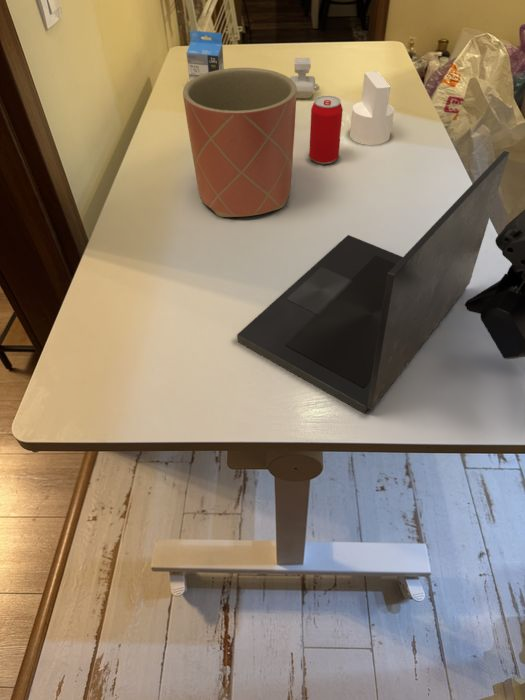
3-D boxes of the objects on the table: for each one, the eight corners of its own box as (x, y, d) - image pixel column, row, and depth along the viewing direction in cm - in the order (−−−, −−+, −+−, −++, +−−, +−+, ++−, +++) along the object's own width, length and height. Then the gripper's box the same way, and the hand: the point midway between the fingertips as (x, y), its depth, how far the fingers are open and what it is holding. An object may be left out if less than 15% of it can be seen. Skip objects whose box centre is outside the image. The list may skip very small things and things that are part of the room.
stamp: (283, 101, 131) (283, 65, 125) (284, 90, 135) (285, 55, 129) (318, 101, 130) (320, 65, 124) (319, 91, 135) (321, 55, 128)
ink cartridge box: (189, 86, 138) (183, 35, 129) (194, 81, 141) (189, 30, 132) (220, 90, 136) (216, 37, 127) (225, 84, 139) (222, 32, 130)
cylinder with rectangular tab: (395, 143, 115) (405, 86, 106) (355, 146, 114) (362, 89, 105) (382, 125, 121) (391, 70, 112) (345, 128, 120) (350, 73, 111)
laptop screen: (386, 272, 49) (394, 275, 49) (503, 150, 65) (509, 152, 65) (366, 406, 64) (371, 409, 64) (464, 281, 80) (469, 283, 80)
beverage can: (338, 152, 112) (343, 94, 103) (338, 166, 108) (343, 107, 99) (309, 151, 113) (312, 94, 104) (308, 165, 109) (311, 107, 100)
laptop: (237, 341, 75) (236, 334, 73) (347, 241, 90) (348, 234, 89) (364, 413, 66) (366, 406, 64) (461, 289, 81) (464, 281, 80)
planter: (189, 178, 106) (175, 73, 91) (278, 165, 109) (279, 62, 94) (205, 230, 93) (192, 118, 79) (306, 213, 96) (311, 103, 82)
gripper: (596, 161, 54) (466, 216, 67) (536, 247, 44) (397, 293, 57) (639, 249, 57) (506, 286, 70) (591, 350, 47) (446, 371, 60)
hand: (467, 306), depth 64 cm, fingers closed
